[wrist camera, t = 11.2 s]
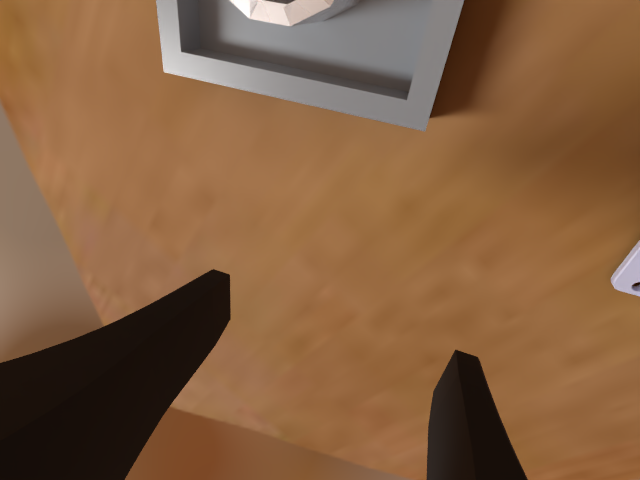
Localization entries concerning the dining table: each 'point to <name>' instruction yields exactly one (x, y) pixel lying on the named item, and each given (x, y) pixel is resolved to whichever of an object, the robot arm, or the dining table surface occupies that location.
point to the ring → (293, 10)
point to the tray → (319, 54)
